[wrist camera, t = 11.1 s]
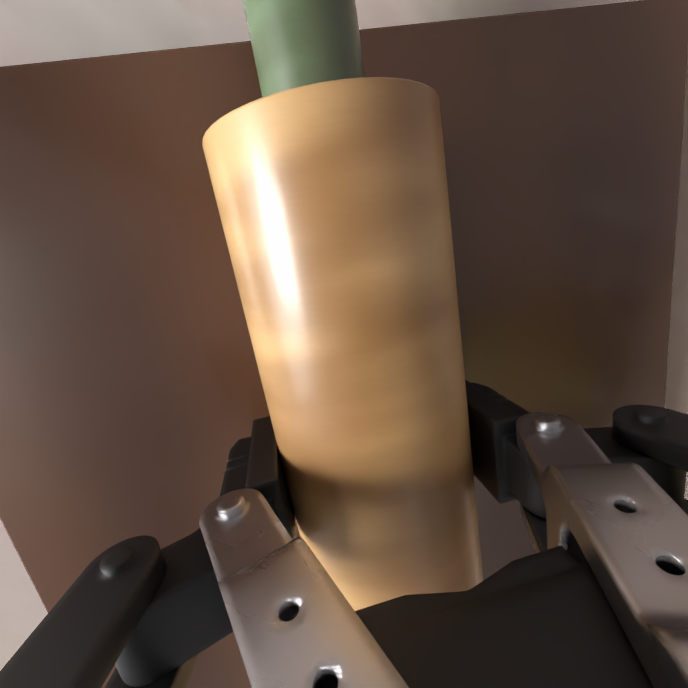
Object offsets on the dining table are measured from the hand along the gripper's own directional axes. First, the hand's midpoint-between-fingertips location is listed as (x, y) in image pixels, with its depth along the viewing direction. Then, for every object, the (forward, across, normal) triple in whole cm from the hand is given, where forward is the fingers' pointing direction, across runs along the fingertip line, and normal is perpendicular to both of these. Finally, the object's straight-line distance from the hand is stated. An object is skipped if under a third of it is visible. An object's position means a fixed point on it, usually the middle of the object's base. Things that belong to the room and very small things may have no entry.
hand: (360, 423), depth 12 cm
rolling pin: (+1, 0, 0) cm, 1 cm away
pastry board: (+2, -1, 0) cm, 2 cm away
